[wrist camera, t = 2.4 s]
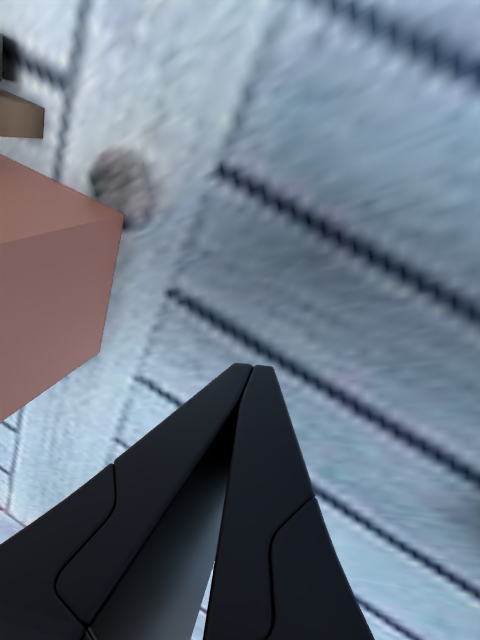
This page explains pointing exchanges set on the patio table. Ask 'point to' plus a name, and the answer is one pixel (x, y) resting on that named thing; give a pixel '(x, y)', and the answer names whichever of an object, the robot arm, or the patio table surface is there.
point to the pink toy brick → (50, 281)
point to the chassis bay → (18, 113)
